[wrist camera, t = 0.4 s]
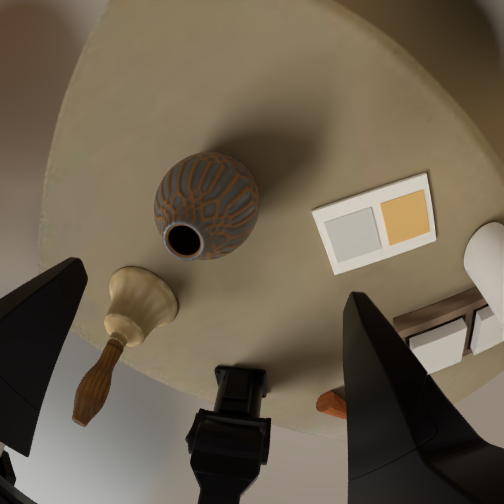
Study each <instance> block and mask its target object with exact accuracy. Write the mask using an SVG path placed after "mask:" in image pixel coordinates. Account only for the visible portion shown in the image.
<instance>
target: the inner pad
mask: <svg viewBox="0 0 504 504" xmlns="http://www.w3.org/2000/svg"><path fill="white" fill-rule="evenodd" d="M466 332H467V326H466V324H465V322H464V320H463V318H461V319H458V320H456V321H454V322H451V323H449V324H446V325H444V326H441V327H439V328H436V329H434V330H431V331H428V332H426V333H423V334H420V335H417V336H415V337H412V338H410V349H411V351H412V352H413V353H414V355H415V356H416V357H417V359H418V360H419V361H420V363H421V364H422V365H423V367H424V368H425V369H426V371H427V372H428V374H430V373H433V372H436V371H438V370H441V369H443V368H446V367H448V366H451V365H453V364H456V363H458V362H460V361H461V359H462V354H463V349H464V344H465V338H466Z"/></svg>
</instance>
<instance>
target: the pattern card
mask: <svg viewBox="0 0 504 504" xmlns="http://www.w3.org/2000/svg"><path fill="white" fill-rule="evenodd" d="M311 211H312V214H313V217H314V219H315V222H316V225H317V227H318V230H319V233H320V235H321V238H322V241H323V243H324V246H325V249H326V252H327V255H328V257H329V260H330V263H331V266H332V269H333V272H334V275H337V274H340V273H343V272H346V271H349V270H352V269H356V268H359V267H362V266H365V265H368V264H371V263H374V262H377V261H380V260H383V259H386V258H389V257H392V256H395V255H397V254H400V253H403V252H406V251H409V250H412V249H415V248H417V247H420V246H423V245H426V244H428V243H431V242H434V241H436V234H435V225H434V217H433V209H432V203H431V196H430V190H429V185H428V179H427V174H426V173H425V172H424V173H421V174H417V175H414V176H411V177H408V178H405V179H402V180H399V181H396V182H393V183H390V184H387V185H384V186H381V187H378V188H375V189H372V190H369V191H366V192H363V193H360V194H357V195H354V196H351V197H348V198H345V199H342V200H339V201H336V202H333V203H330V204H327V205H324V206H321V207H319V208H316V209H313V210H311Z"/></svg>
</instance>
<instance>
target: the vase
mask: <svg viewBox="0 0 504 504" xmlns="http://www.w3.org/2000/svg"><path fill="white" fill-rule="evenodd" d="M259 206H260V197H259V190H258V187H257V184H256V181H255V179H254V177H253V175H252V174H251V172H250V171H249V170H248V168H247V167H246V166H245V165H244V164H242V163H241V162H240V161H239V160H237V159H235V158H234V157H232V156H229V155H227V154H224V153H219V152H202V153H197V154H194V155H191V156H189V157H187V158H185V159H183V160H181V161H180V162H178V163H177V164H176V165H175V166H173V167H172V168H171V169H170V170H169V171H168V173H167V174H166V175H165V177H164V178H163V180H162V181H161V183H160V185H159V188H158V190H157V193H156V197H155V202H154V217H155V222H156V225H157V228H158V231H159V233H160V235H161V236H162V238H163V242H164V245H165V247H166V249H167V250H168V251H169V252H170V253H171V254H172V255H173V256H174V257H176V258H178V259H181V260H187V261H189V260H195V259H198V260H210V259H216V258H220V257H222V256H225V255H227V254H229V253H231V252H232V251H234V250H235V249H236V248H238V247H239V246H240V245H241V244H242V243H243V242H244V241H245V240H246V239H247V238H248V236H249V235H250V233H251V232H252V230H253V228H254V226H255V224H256V221H257V218H258V213H259Z"/></svg>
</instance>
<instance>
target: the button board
mask: <svg viewBox="0 0 504 504" xmlns="http://www.w3.org/2000/svg"><path fill="white" fill-rule="evenodd" d="M486 304H488V303H487V302H486V300H485V298H484V297H483V295H482V294H481V292H480V291H479V289H478V288H477V286H476V287H474V288H472V289H470V290H467V291H465V292H463V293H460V294H458V295H455V296H453V297H451V298H448V299H446V300H443V301H440V302H438V303H435V304H433V305H430V306H427V307H425V308H422V309H419V310H416V311H414V312H411V313H408V314H405V315H402V316H399V317H396V318H393V324H394V329H395V330H396V331H397V333H398V334H399V335H400V337H401V338H402V339H403V340H404V342H405V337H406V336H409V335H412V334H415V333H418V332H420V331H423V330H426V329H429V328H431V327H434V326H436V325H439V324H442V323H444V322H447V321H449V320H451V319H454V318H456V317H458V319H461V318H463V320H464V322H465V324H466V326H467V332H466V338H465V344H464V349H463V354H462V357H463V356H465V355H468V354H470V353H472V352H473V351H472V349H471V347H470V345H471V341H472V336H473V334H472V335H470V330H471V324H472V317H473V310H475V309H477V308H479V307H481V306H483V305H486Z"/></svg>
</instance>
